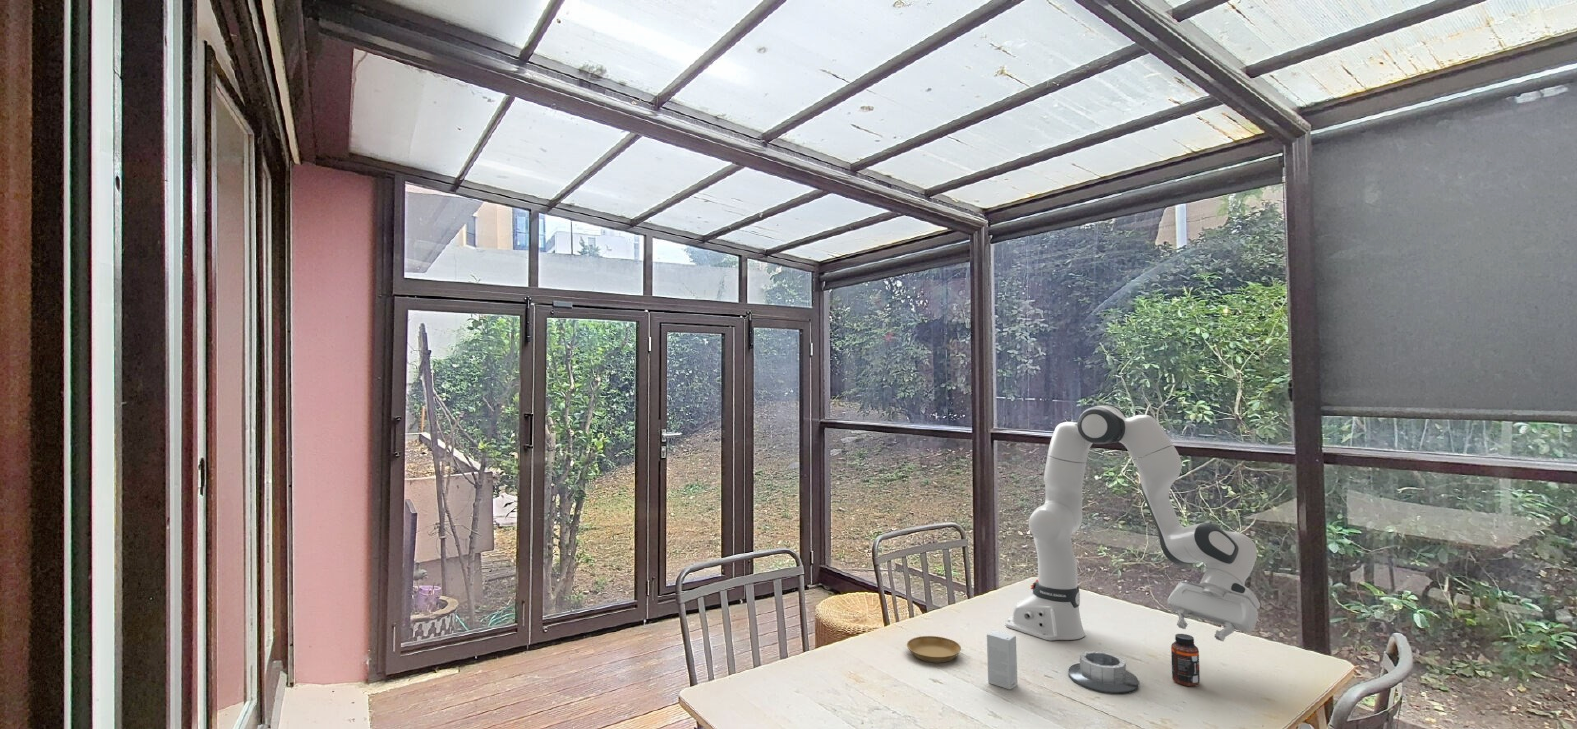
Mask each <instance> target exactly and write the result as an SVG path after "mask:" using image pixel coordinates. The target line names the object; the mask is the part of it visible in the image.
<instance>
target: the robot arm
mask: <svg viewBox="0 0 1577 729" xmlns="http://www.w3.org/2000/svg"><path fill="white" fill-rule="evenodd" d="M1113 443H1114V444H1115V443H1120V444H1122V445H1123V446H1124V447H1125V449H1127V452H1128V453H1129V455H1130V457H1131V458H1132V461H1133V463H1134V464H1135V467H1136V469H1137V471H1138V475H1139V478H1140V489H1141V490H1140V491H1141V492H1142V496H1143V498H1144V500H1145V504H1146V506H1147V507H1148V510H1149V513H1150V515H1151V518H1152V520H1153V522H1154V525H1155V527H1156V530H1157V533H1158V538H1159V543H1160V547H1161V551H1162V553H1163V554H1164V556H1165V557H1166V558H1167V559H1168V561H1170V562H1172V563H1173V564H1175V565H1178V566H1189V565H1193V564H1196V563H1203V564H1205V565H1206V567H1207V568H1206V570H1205V572H1204V573H1203V576H1202V577H1201V580H1200V582H1196V581H1191V580H1189V579H1186V580H1182V581H1181V580H1180V581H1179V582H1178V583H1177V585H1176V586H1175V587H1174V589H1173V590H1172V592H1171V593H1170V595H1169V597H1168V598H1167V604H1168V606H1169V607H1170V608H1171V610H1172V611H1174V612H1177V616H1178V620H1177V622H1176V625H1177V627H1178V628H1179V629H1183V630H1186V629H1187V627H1188V623H1187V621H1186V620H1185V618H1187V617H1188V616H1189V617H1194V618H1197V619H1200V620H1204V621H1206V622H1211V623H1213V624H1218V625H1221V626H1223V628H1222V629H1221V630H1218V629H1217V630H1215V633H1214V638H1215V640H1217V641H1220V642H1224V641H1225V639H1226V637H1228V636H1229V635H1231V634H1233V633H1234V632H1235V630H1237V631H1241V632H1244V633H1247V634H1248V633H1251V632H1253V631H1254V629H1255V627H1256V626H1257V623H1258V618H1259V611H1258V610H1259V609H1260V607H1261V603H1260V602H1259V599H1258V598H1257V596H1256V595H1255V594H1254V593H1253V591H1252V590H1251V588H1248V586H1246V585H1245V582H1246V580H1247V579H1248V578H1249V577H1250V575H1251V574H1252V572H1253V570H1254V569H1253V568H1254V566H1255V563H1256V560H1257V554H1258V550H1257V546H1256V544H1255V542H1254V541H1253V540H1252V539H1251V538H1250V537H1248V536H1247V535H1245V534H1244V533H1241V532H1238V531H1229V530H1224V529H1222V528H1220V527H1219V526H1218V525H1216V524H1215V523H1211V522H1202V523H1197V524H1192V525H1188V526H1183V525H1182V524H1181V523H1180V521H1179V518H1178V516H1177V514H1176V512H1175V511H1176V510H1175V509H1174V506H1173V504H1172V501H1171V499H1170V490H1171V488H1172V486H1173V484H1174V482H1176V480H1178V478H1179V476H1180V474H1181V472H1182V468H1183V462H1182V459H1181V456H1180V454H1179V451H1178V450H1177V449H1176V447H1175V445H1174V444H1173V442H1172V440H1171V438H1170V437H1169V436H1168V434H1167V433H1166V431H1165V430H1164V429H1163V427H1162V426H1161V425H1160V424H1159V423H1158V421H1157V420H1156V419H1155V418H1154V417H1153V416H1151V415H1148V414H1137V415H1134V416H1133V415H1132V416H1131V417H1127V416H1126V414H1125V413H1124V411H1123V410H1121V408H1119V407H1117V406H1115V405H1111V404H1099V405H1095V406H1092V407H1089V408H1087V409H1085V410H1084V411H1083V412H1081V414H1080V415H1079V416H1078V419H1077V422H1075V421H1064V422H1060V423H1059V424H1057V425H1056V426H1055V428H1054V431H1053V433H1052V435H1051V439H1050V443H1049V447H1048V451H1047V454H1046V455H1047V456H1046V461H1045V467H1044V475H1043V483H1044V487H1045V488H1044V489H1045V491H1044V492H1045V499H1044V504H1042V505H1040V506H1038V507H1037V508H1035V509H1034V510H1033V512H1032V513H1031V515H1030V516H1029V519H1028V529H1029V531H1030V533H1031V535H1032V536H1033V541H1034V546H1035V551H1036V556H1037V572H1038V573H1037V577H1038V578H1037V579H1036V580H1035V581H1034V582H1033V583H1031V585H1030V590H1032V592H1031V593H1030V594H1028V595H1027V596H1026V597H1023V598H1021V600H1019V601H1017V603H1016V604H1015V606H1014V608H1013V613H1012V615H1010V616H1009V617H1008V618H1006V620H1005V627H1007V628H1009V629H1012V630H1015V631H1019V632H1021V633H1025V634H1027V635H1030V636H1033V637H1037V638H1040V639H1043V640H1045V641H1059V640H1062V641H1063V640H1065V641H1069V640H1071V641H1072V640H1073V641H1074V640H1079V639H1082V638H1083V637H1085V630H1084V627H1083V623H1082V620H1081V619H1082V618H1081V612H1080V605H1081V604H1080V603H1081V593H1080V586H1079V585H1078V559H1077V557H1076V556H1075V552H1074V548H1073V544H1072V535H1073V534H1074V533H1076V532H1077V531H1078V530H1079V529H1080V527H1081V525H1082V523H1083V516H1084V515H1083V485H1084V480H1085V473H1086V468H1087V467H1086V466H1087V461H1088V456H1089V452H1090V451H1089V450H1090V448H1091V447H1092V445H1093V444H1095V445H1107V444H1113Z"/></svg>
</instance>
